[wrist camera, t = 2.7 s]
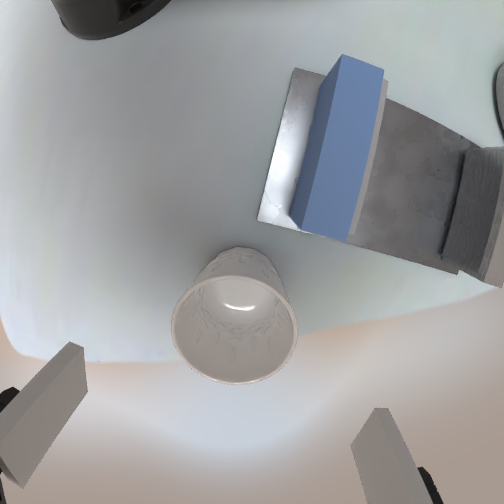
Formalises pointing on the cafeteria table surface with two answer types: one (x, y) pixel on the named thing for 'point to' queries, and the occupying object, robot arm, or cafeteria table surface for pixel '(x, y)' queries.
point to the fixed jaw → (479, 218)
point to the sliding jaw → (340, 149)
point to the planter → (500, 93)
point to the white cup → (235, 320)
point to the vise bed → (378, 178)
